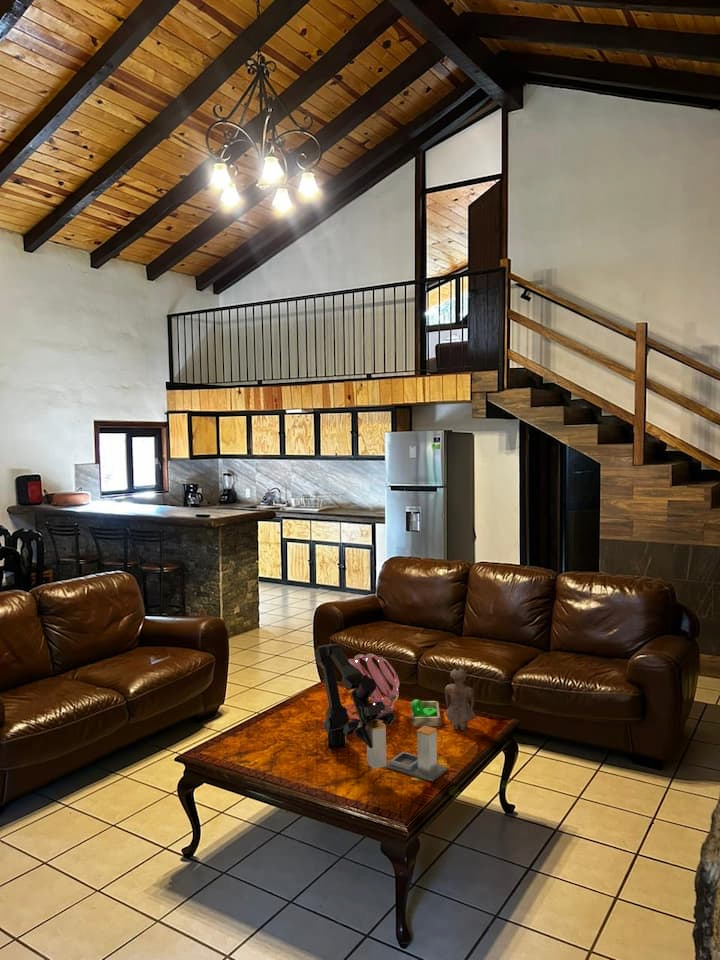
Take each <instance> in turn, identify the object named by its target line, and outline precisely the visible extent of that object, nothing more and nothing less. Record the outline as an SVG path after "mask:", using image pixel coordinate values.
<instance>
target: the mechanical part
mask: <svg viewBox="0 0 720 960" xmlns="http://www.w3.org/2000/svg"><path fill="white" fill-rule="evenodd" d="M412 701H413V702H412V705H411V704H410V709H411V710H410V712H411V711H414V717H436V716H437V710H436V709H435V708H432V707H426V708H424V709H423V703H422V701H423V700H420V699H417V698H416V699H413V700H412Z"/></svg>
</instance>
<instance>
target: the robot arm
mask: <svg viewBox="0 0 720 960" xmlns="http://www.w3.org/2000/svg"><path fill="white" fill-rule="evenodd" d="M314 658H315V659H316V663H317V665H319V667H320V668H321V669H322V674H323V680H324V685H325V691H326V696H327V702H328V707H327V711H326V715H325V716H326V718H325V721H324V722H323V724H322V725H323V730H324V731H325V732H326V733H327V746H326V747H327V748H329V749H334V748H336V749H337V748H339V749H343V748H345V745H346V743H347V742H346V741H347V737H346V736H349V735H353V736H356V737H358V738H359V739H360V740H361V741H362V742H363V743H364V744H366V746H367V745H368V746H369V748H372V745H371V741H370V739H369V737H368V734H367V732H366V723H368V722H372V721H376V720H380V721H381V722H382V723H384V724H385V725H386V726H390V725H391V724H392V723H393V722H394V721H395V719H396V718H397V717H396V715H395V713H394V712H393V711H392V710H390V711H388V712H386V713H383V714H382V716H381V717H379V718H376V717H377V716H378V714H381V711H382V710H385V706H384V704H383V701H380V702H377V703H376V705H375V706H374V705H373V704H374V702H371V700H370V696H371V695H372V693H373V692H374V691H375V689H376V686H377V684H376V682H375V681H374V679H373V678H372V679H371V678H369V677H368V676H367V675H363V674H362V673H361V671H360V670H359V669H357V668H355V667H354V666H353V665H352V664H350V662H349V661H348V660H349V659H348V657H347V656H346V654H345V653H344V652H343V650H342V646H341V645H340V644H338V643H334V644H332V643H330V644H325V645H318V646H317V647H316V649H314ZM335 666H336V667H337V669H338V671H339V672H340V674H341V676H342V677H341V682H342V685H343V687H344V688H345V689H346V690H347V691H349V690H350V691H351V689H355V688H356V689H355V690H354V691H351V693H350V696H349V699H350V700H352V702H353V705H354V707H355V708H356V710H355V716H356V715H357V717H359V719H360V720H358V719H354V720H350V716H349V714H348V713H347V710H348V708H347V707H346V706H344V705H343V704H342V703H341V702H342V701H341V696H340V692H339V691H340V690H339V686H338V685H339V684H338V681H337V680H338V679H337V676H336V669H335Z"/></svg>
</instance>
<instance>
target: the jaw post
mask: <svg viewBox="0 0 720 960" xmlns="http://www.w3.org/2000/svg"><path fill="white" fill-rule="evenodd" d="M386 728H387V725H385V724H384V723H382V722H381V721H380V720H376V721H372V722H368V723H366V732H367V734H368V737H369V739H370V741H371V745H372V748H369V746H368V745H367V744H366V764H367V765H368V766H369V767H370V768H371V769H373V770H377V769H379V768H380V769H381V768H384V767H386V764H387V731H386V730H387V729H386Z"/></svg>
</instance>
